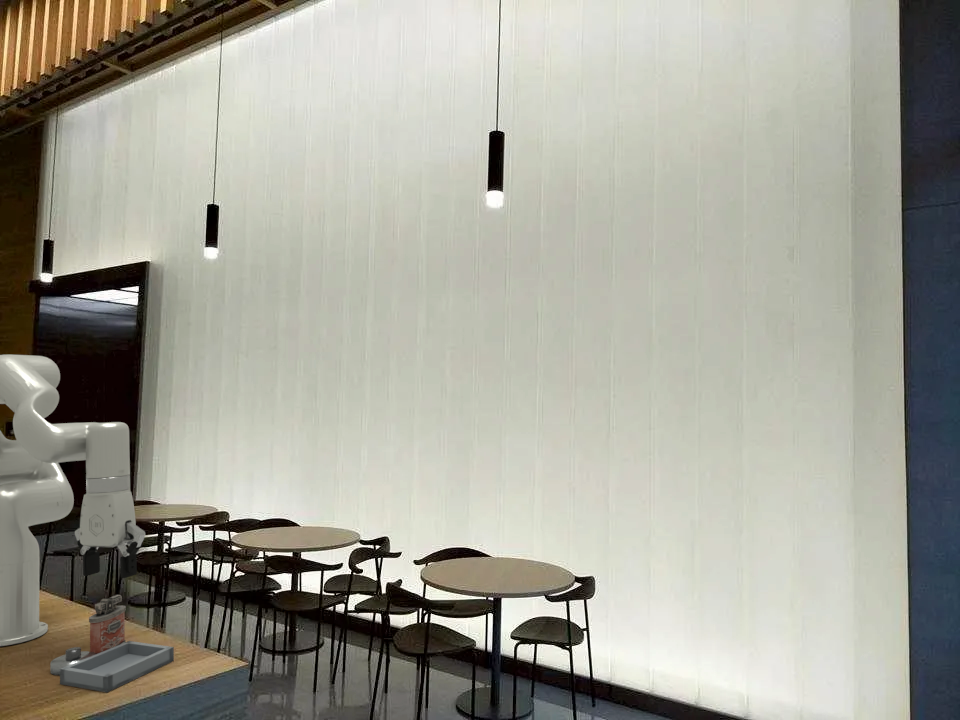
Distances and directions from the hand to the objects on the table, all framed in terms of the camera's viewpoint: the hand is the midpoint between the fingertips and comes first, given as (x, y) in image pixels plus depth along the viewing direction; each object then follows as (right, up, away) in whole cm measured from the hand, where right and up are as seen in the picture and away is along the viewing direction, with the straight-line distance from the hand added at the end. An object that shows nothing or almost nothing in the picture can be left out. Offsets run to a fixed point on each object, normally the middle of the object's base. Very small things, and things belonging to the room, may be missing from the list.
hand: (109, 575), depth 132 cm
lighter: (0, -15, -1) cm, 15 cm away
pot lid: (-2, -14, -8) cm, 17 cm away
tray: (+8, -14, -11) cm, 19 cm away
